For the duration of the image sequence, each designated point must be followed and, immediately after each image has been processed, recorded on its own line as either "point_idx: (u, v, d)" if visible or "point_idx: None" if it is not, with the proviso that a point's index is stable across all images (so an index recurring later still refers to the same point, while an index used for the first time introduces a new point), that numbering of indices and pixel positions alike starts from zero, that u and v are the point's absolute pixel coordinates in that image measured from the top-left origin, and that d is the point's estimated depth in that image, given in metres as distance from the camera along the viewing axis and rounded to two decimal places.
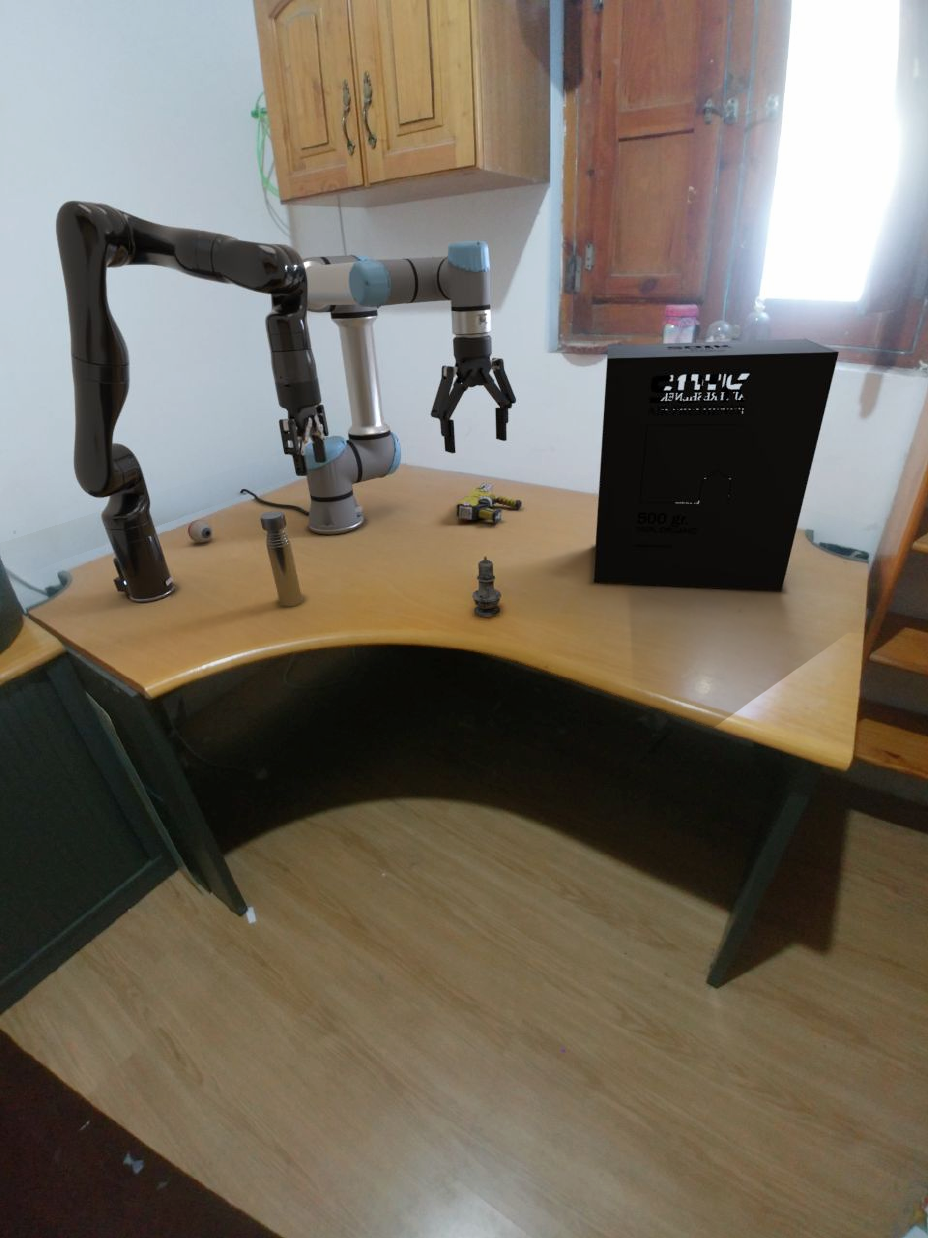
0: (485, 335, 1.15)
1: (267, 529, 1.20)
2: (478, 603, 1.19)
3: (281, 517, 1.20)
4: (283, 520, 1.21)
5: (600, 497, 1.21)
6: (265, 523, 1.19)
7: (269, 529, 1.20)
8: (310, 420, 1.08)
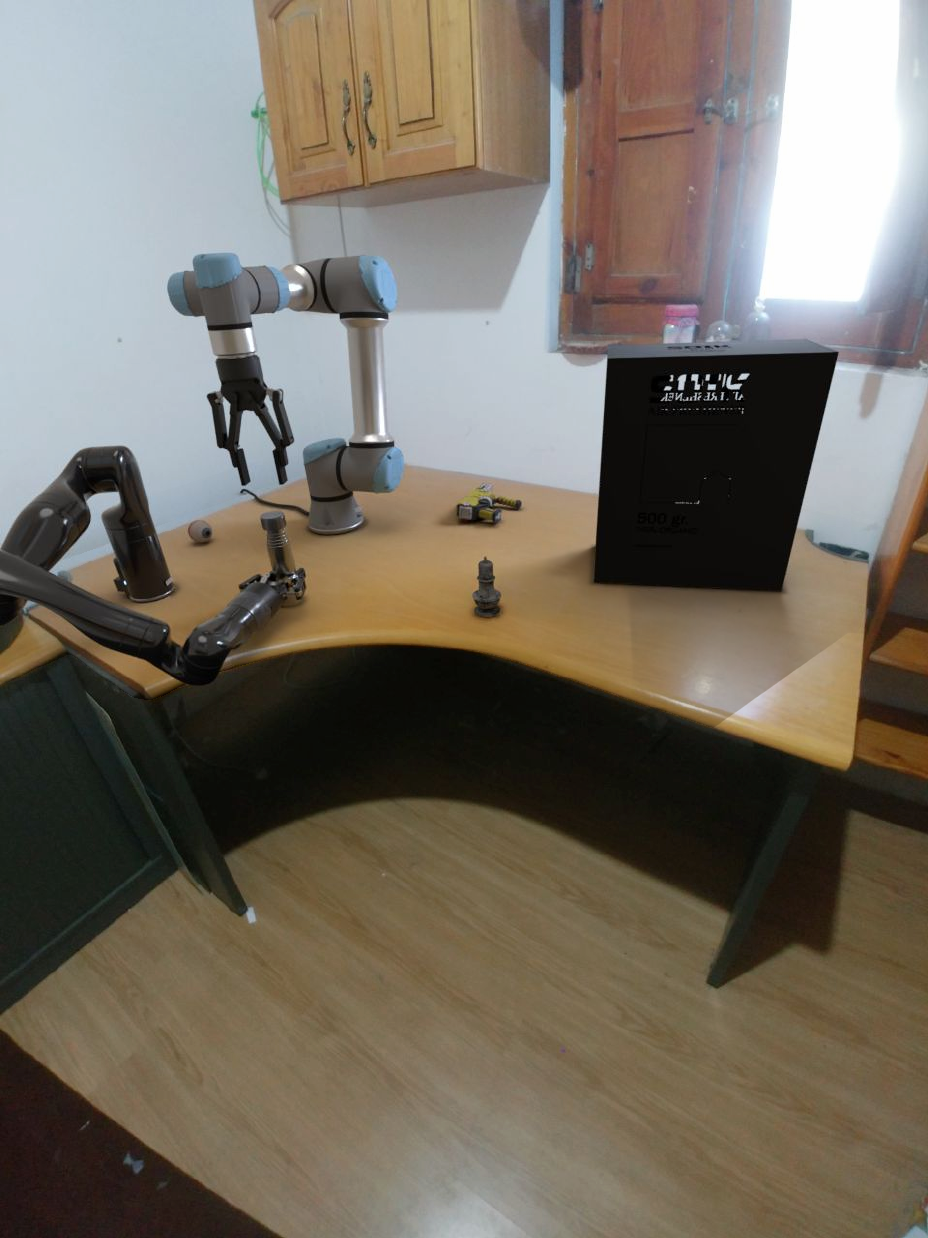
0: None
1: (267, 529, 1.20)
2: (478, 603, 1.19)
3: (281, 517, 1.20)
4: (283, 520, 1.21)
5: (600, 497, 1.21)
6: (265, 523, 1.19)
7: (269, 529, 1.20)
8: (273, 583, 1.20)
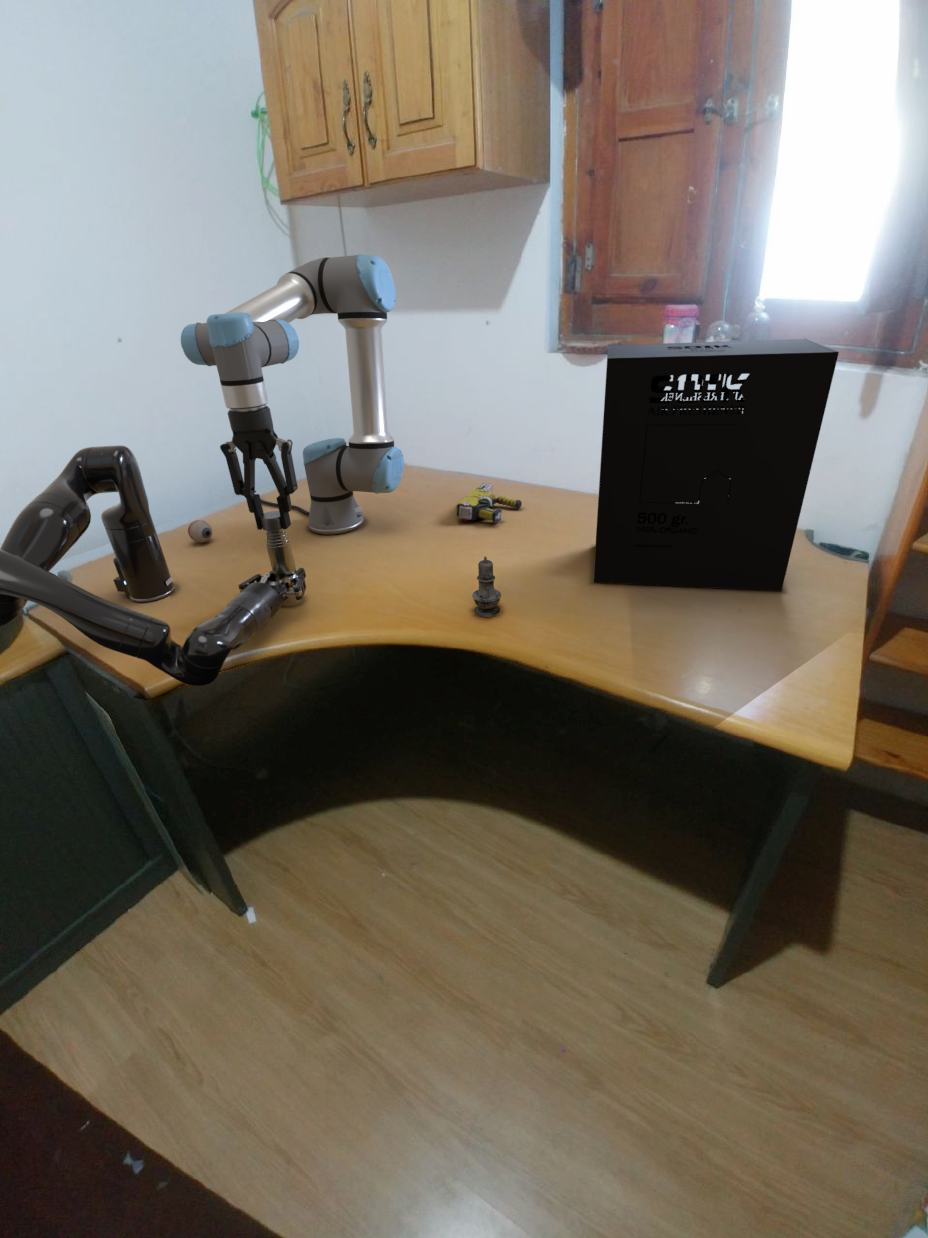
0: None
1: (267, 529, 1.20)
2: (478, 603, 1.19)
3: None
4: None
5: (600, 497, 1.21)
6: (265, 523, 1.19)
7: (269, 529, 1.20)
8: (273, 584, 1.20)
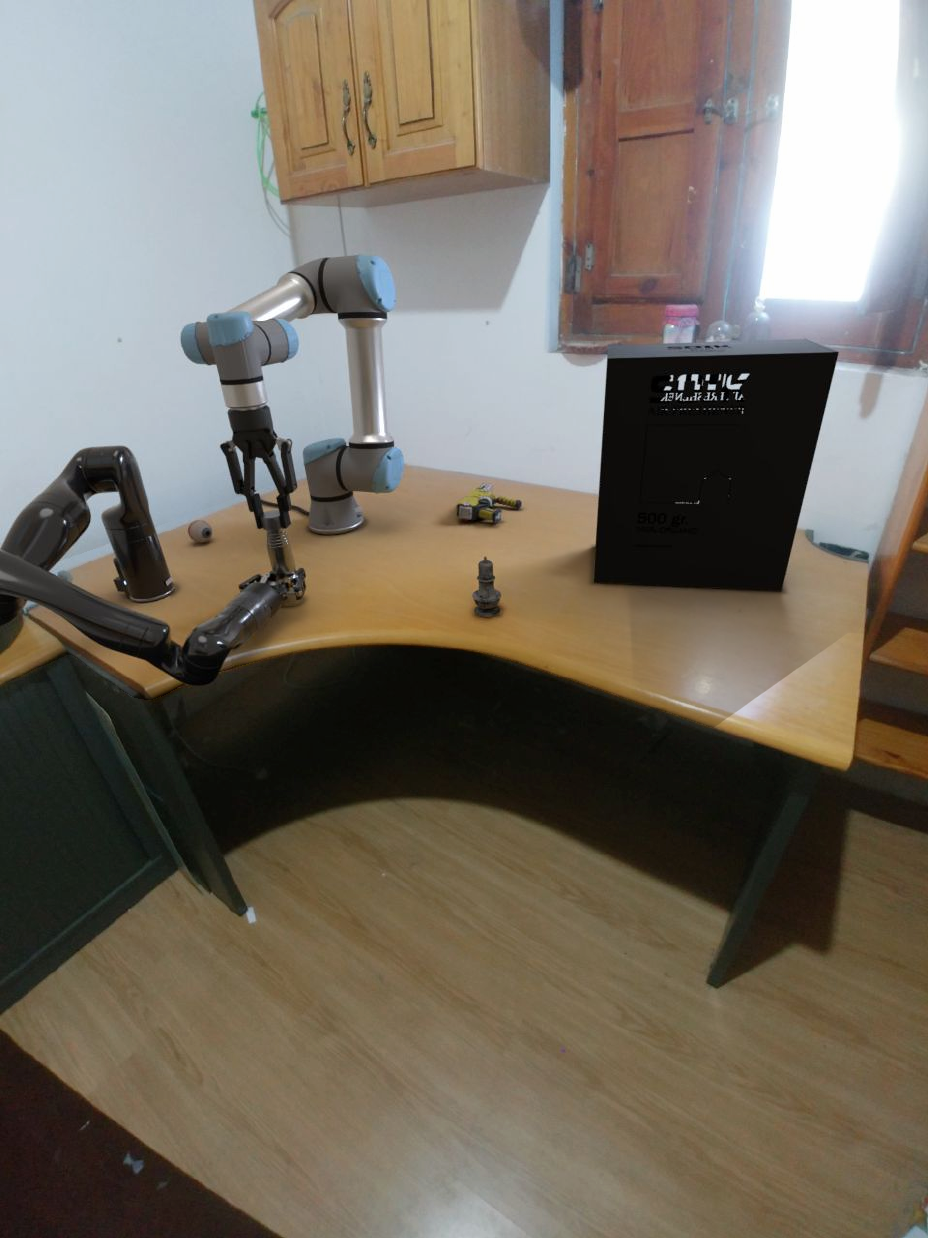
0: None
1: None
2: (478, 603, 1.19)
3: None
4: None
5: (600, 497, 1.21)
6: None
7: None
8: (273, 584, 1.20)
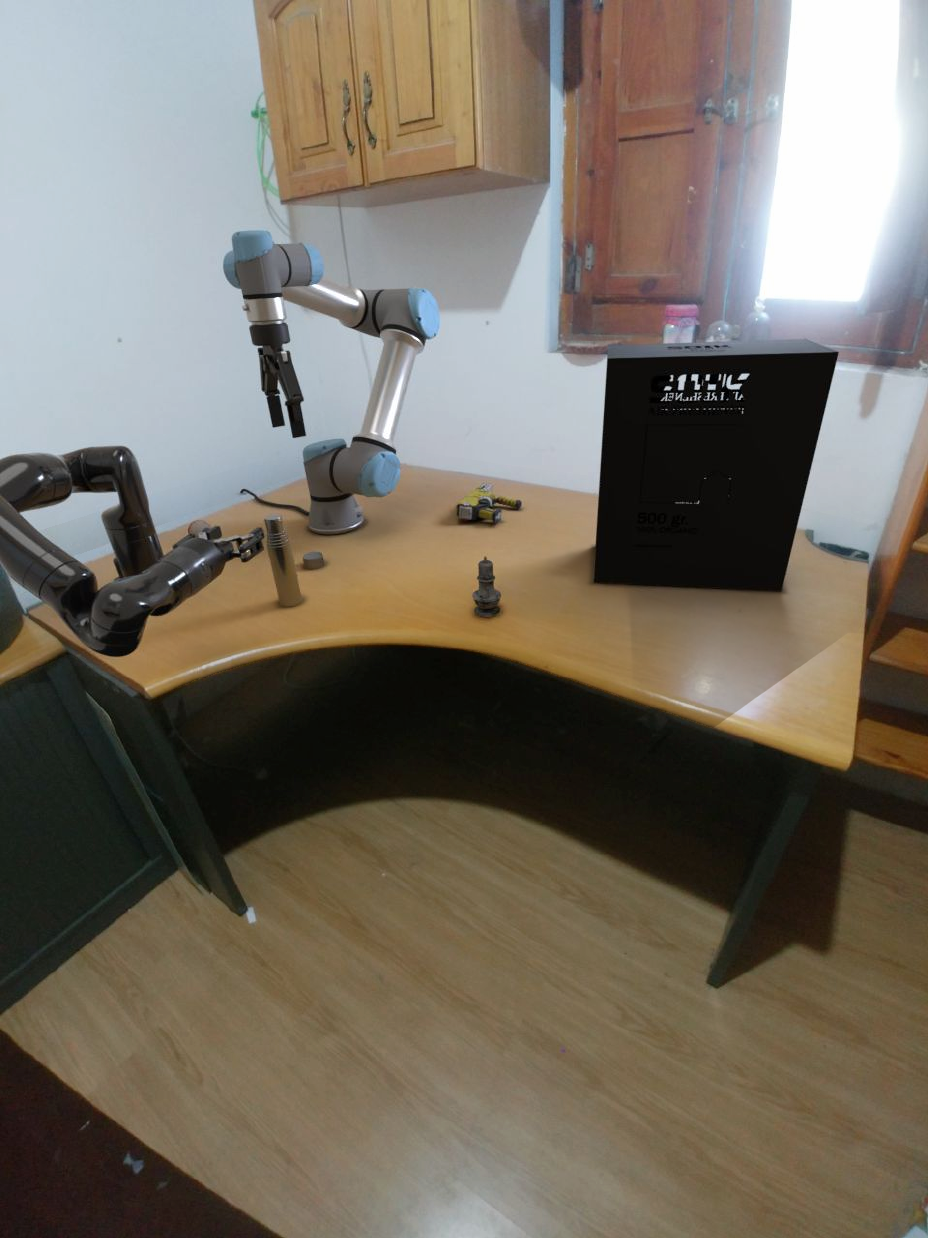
0: (255, 324, 1.18)
1: None
2: (478, 603, 1.19)
3: None
4: None
5: (600, 497, 1.21)
6: None
7: None
8: (216, 540, 1.02)
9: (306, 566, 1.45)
